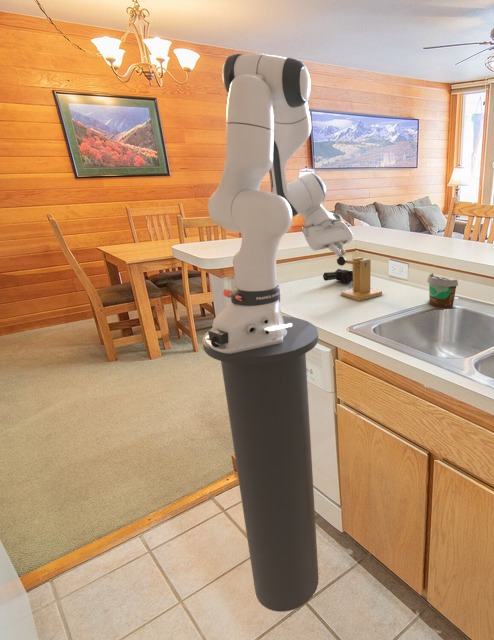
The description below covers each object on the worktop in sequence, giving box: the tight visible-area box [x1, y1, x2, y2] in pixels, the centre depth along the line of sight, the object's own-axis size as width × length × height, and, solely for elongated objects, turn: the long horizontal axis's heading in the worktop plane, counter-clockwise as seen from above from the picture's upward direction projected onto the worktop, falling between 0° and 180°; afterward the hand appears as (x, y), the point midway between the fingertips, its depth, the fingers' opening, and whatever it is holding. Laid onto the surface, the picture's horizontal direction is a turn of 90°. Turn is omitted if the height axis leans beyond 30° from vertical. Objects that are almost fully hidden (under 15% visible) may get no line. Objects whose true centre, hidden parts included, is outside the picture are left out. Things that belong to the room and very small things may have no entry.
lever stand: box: [340, 256, 383, 302], centre depth 163 cm, size 12×10×14 cm
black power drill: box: [322, 268, 353, 284], centre depth 180 cm, size 5×20×15 cm
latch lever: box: [336, 255, 360, 267], centre depth 157 cm, size 13×3×3 cm, turn 136°
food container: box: [426, 272, 459, 309], centre depth 155 cm, size 12×6×10 cm, turn 42°
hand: (342, 254), depth 154 cm, fingers closed
